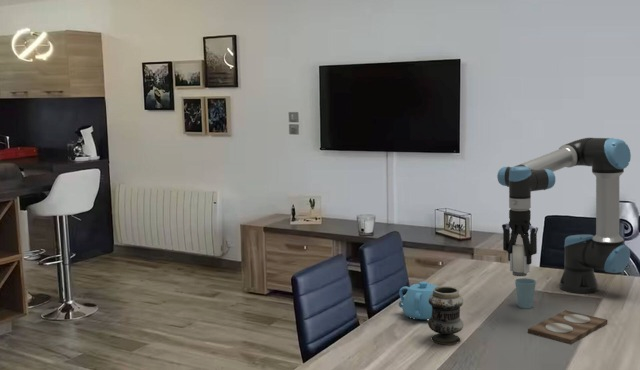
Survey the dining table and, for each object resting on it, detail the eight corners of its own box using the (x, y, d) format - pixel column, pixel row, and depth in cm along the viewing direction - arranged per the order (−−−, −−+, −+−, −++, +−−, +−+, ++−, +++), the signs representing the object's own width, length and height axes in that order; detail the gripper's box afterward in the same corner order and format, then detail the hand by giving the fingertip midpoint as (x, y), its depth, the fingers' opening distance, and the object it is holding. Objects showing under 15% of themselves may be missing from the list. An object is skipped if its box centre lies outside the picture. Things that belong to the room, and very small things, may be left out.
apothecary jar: (456, 348, 220) (455, 296, 218) (422, 342, 226) (422, 291, 224) (468, 336, 230) (468, 286, 228) (436, 331, 236) (435, 282, 234)
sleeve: (517, 272, 247) (517, 243, 245) (529, 274, 243) (529, 245, 241) (509, 274, 243) (509, 245, 242) (521, 277, 240) (522, 247, 238)
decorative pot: (435, 308, 262) (434, 274, 261) (452, 320, 247) (451, 285, 245) (396, 312, 259) (395, 278, 257) (411, 325, 243) (410, 289, 242)
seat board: (565, 314, 250) (565, 309, 250) (607, 323, 238) (607, 318, 238) (527, 332, 232) (527, 327, 232) (571, 344, 220) (571, 338, 220)
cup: (539, 307, 259) (539, 281, 257) (524, 310, 256) (524, 284, 254) (526, 302, 266) (526, 277, 264) (511, 305, 262) (511, 279, 261)
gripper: (492, 208, 244) (492, 269, 247) (536, 213, 231) (536, 277, 234) (503, 205, 249) (503, 265, 252) (547, 210, 236) (547, 273, 239)
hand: (519, 271), depth 243 cm, fingers closed on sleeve, 5 cm apart
